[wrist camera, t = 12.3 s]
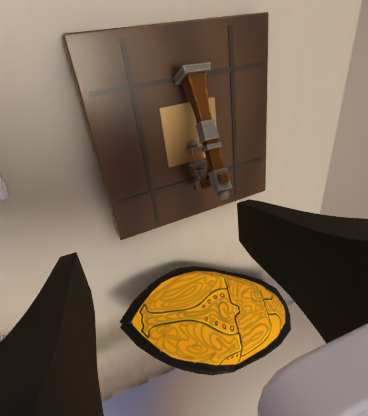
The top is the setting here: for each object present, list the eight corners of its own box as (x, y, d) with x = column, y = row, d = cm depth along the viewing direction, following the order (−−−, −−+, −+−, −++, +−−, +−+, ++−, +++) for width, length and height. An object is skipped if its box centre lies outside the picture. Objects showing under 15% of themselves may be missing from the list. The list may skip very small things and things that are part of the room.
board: (117, 232, 22) (121, 241, 21) (61, 36, 16) (62, 33, 14) (257, 186, 26) (266, 191, 25) (257, 14, 20) (270, 11, 18)
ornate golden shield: (126, 394, 18) (112, 397, 22) (323, 353, 24) (282, 362, 29) (118, 264, 22) (107, 288, 27) (286, 258, 29) (255, 279, 33)
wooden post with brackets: (190, 204, 21) (218, 203, 17) (161, 93, 20) (183, 63, 16) (211, 197, 21) (244, 195, 17) (185, 90, 21) (212, 60, 16)
